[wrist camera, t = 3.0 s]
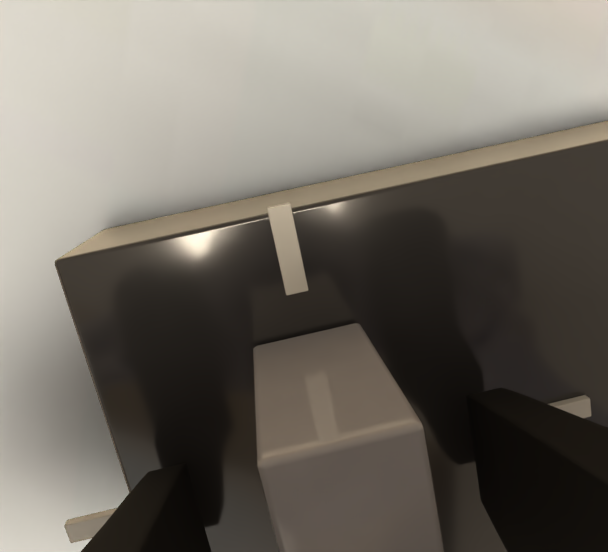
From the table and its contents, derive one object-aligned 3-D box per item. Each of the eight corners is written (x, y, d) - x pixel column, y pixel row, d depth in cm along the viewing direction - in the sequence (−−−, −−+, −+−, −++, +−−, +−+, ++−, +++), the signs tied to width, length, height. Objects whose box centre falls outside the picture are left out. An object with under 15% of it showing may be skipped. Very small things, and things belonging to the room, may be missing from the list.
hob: (616, 113, 12) (746, 104, 9) (637, 484, 14) (746, 579, 11) (45, 236, 11) (-31, 272, 8) (165, 603, 14) (142, 738, 10)
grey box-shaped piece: (251, 344, 9) (255, 478, 5) (359, 320, 9) (433, 434, 6) (312, 595, 10) (347, 834, 7) (406, 570, 10) (491, 795, 7)
